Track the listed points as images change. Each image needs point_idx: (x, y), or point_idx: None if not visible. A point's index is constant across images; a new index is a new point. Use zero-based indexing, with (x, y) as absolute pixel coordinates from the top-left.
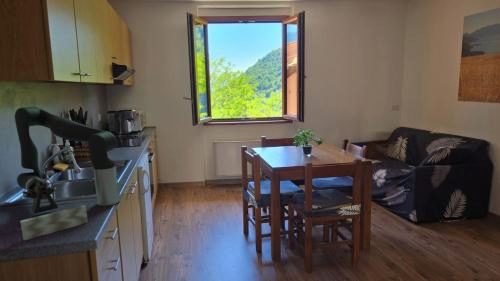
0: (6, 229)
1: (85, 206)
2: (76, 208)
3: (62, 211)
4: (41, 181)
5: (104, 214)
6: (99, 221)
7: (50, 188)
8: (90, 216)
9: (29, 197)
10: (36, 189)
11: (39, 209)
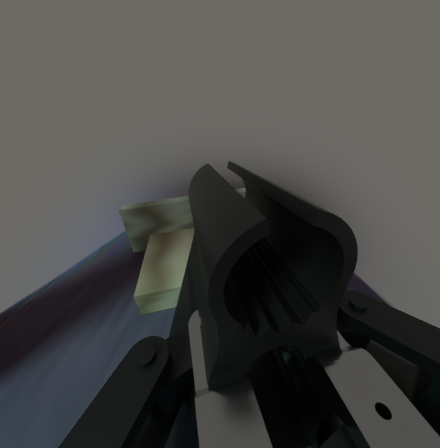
0: (358, 283)
1: (123, 205)
2: (146, 202)
3: (180, 198)
4: (234, 195)
5: (71, 271)
6: (114, 243)
7: (137, 353)
8: (105, 274)
9: (397, 363)
10: (335, 329)
11: (277, 370)
